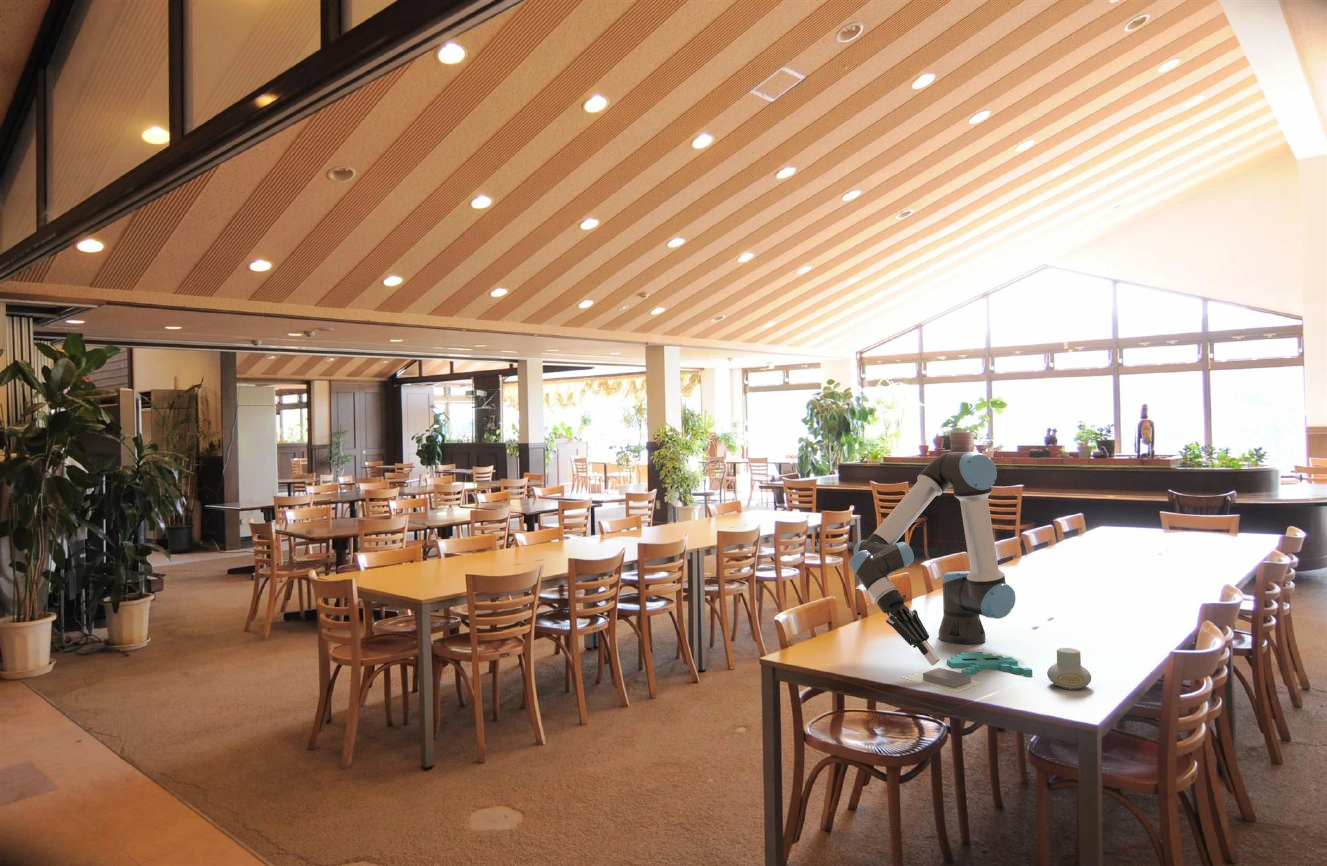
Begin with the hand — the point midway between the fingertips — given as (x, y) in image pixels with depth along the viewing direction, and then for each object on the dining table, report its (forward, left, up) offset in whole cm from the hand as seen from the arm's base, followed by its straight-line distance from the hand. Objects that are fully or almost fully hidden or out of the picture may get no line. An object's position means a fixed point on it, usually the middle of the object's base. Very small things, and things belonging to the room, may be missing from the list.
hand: (935, 662), depth 235 cm
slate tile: (+1, -1, -4) cm, 4 cm away
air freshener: (-33, +12, -5) cm, 36 cm away
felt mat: (-1, +1, -5) cm, 5 cm away
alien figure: (-20, -9, -6) cm, 23 cm away
